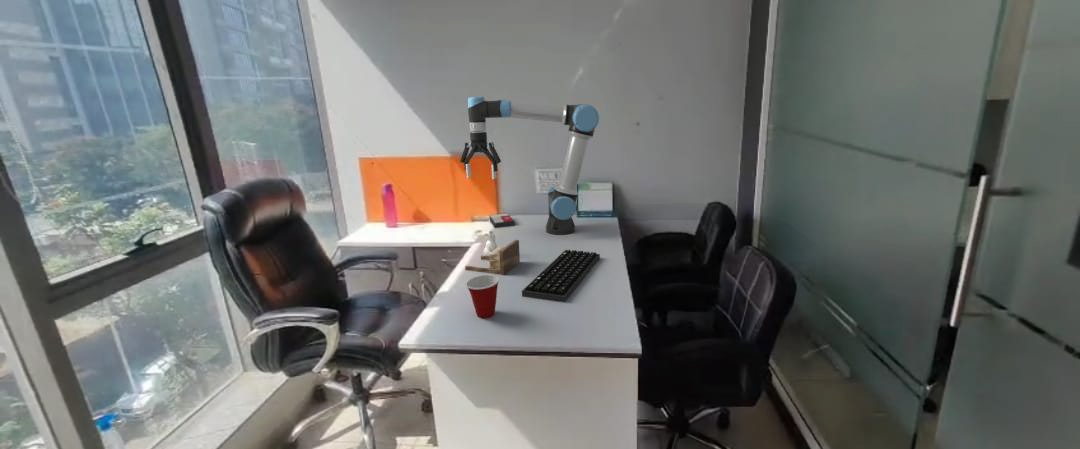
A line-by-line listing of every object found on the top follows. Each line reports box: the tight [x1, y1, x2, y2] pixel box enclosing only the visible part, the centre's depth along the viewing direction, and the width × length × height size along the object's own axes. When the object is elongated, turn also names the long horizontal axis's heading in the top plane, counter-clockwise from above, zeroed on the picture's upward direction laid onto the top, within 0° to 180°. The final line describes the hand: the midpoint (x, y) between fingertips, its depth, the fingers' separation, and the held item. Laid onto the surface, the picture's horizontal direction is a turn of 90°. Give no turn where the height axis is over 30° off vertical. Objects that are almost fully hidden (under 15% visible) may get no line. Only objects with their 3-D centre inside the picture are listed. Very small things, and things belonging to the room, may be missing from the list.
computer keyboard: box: [521, 249, 601, 303], centre depth 177 cm, size 45×16×4 cm, turn 157°
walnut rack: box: [464, 239, 521, 276], centre depth 189 cm, size 18×15×10 cm
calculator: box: [489, 213, 515, 229], centre depth 254 cm, size 11×4×15 cm
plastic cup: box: [465, 274, 500, 319], centre depth 147 cm, size 11×11×12 cm
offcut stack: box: [489, 246, 505, 270], centre depth 187 cm, size 5×10×7 cm, turn 162°
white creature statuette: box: [482, 229, 498, 256], centre depth 201 cm, size 10×9×12 cm
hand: (481, 177), depth 214 cm, fingers open, 13 cm apart
